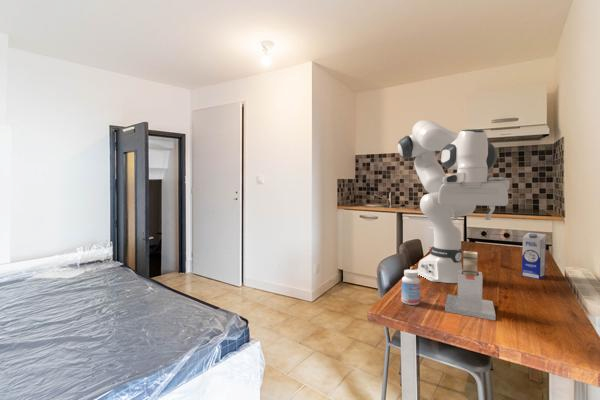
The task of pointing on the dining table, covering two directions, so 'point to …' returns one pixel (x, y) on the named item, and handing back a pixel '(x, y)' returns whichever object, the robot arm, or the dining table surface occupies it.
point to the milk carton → (534, 255)
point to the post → (470, 263)
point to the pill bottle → (410, 288)
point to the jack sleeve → (470, 298)
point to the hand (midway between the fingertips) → (471, 219)
